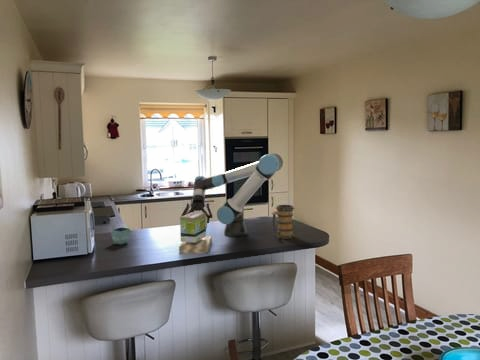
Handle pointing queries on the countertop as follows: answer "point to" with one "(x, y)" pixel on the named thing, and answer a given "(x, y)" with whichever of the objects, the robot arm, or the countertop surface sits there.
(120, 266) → the countertop surface
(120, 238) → the flower pot
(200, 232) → the tea box
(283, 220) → the mug
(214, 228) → the countertop surface
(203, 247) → the birch stand
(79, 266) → the countertop surface
